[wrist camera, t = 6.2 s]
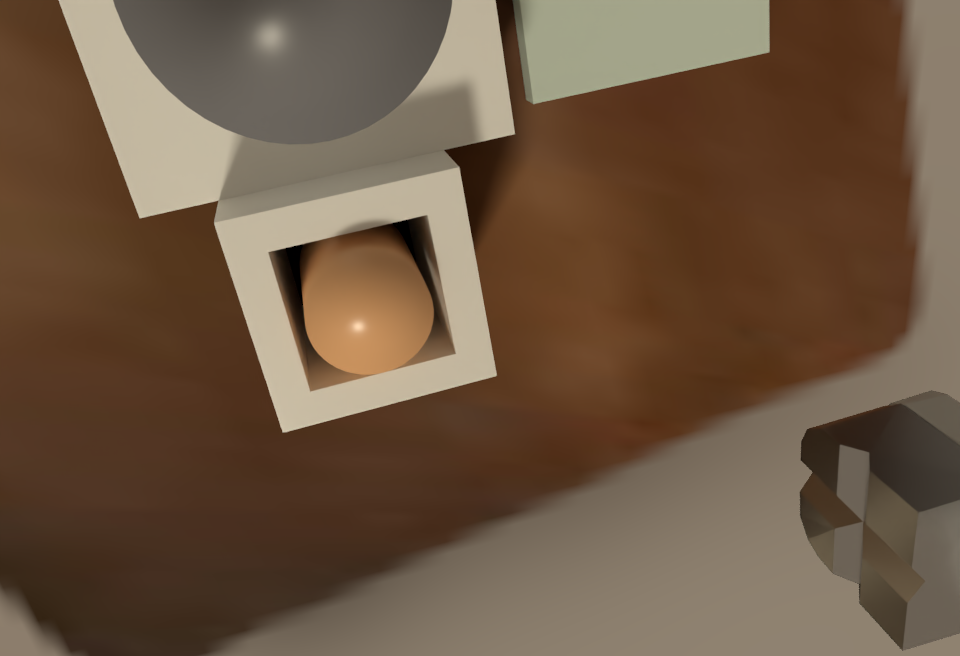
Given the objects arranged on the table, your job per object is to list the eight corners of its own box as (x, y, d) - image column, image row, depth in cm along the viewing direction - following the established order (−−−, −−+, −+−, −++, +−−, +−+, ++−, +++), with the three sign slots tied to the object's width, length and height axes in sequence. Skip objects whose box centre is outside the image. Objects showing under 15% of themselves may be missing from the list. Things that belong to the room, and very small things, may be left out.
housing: (19, -217, 20) (-74, -282, 14) (418, -276, 21) (468, -355, 16) (220, 354, 27) (207, 452, 21) (508, 282, 28) (564, 357, 23)
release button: (286, 224, 23) (289, 274, 19) (397, 199, 23) (420, 242, 20) (315, 325, 24) (323, 388, 21) (419, 299, 25) (444, 356, 21)
